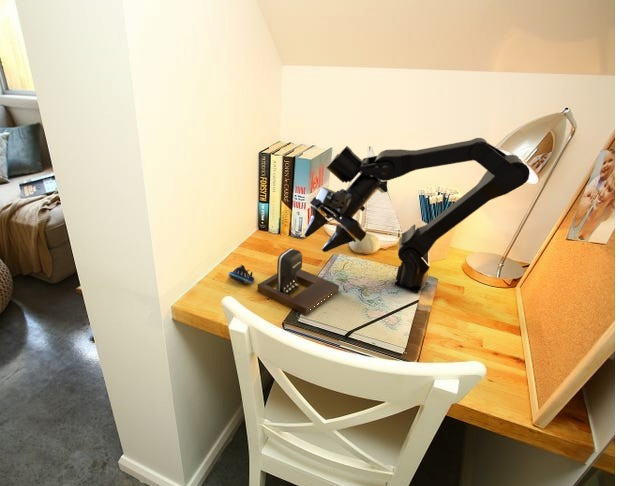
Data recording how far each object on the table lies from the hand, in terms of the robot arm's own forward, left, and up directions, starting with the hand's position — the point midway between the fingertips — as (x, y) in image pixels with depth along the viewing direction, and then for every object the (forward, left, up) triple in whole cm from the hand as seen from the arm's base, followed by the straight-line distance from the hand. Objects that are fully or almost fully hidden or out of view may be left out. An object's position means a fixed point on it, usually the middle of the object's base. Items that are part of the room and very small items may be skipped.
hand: (313, 243), depth 101 cm
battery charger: (+3, +6, -13) cm, 14 cm away
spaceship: (+16, +11, -13) cm, 23 cm away
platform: (+1, +5, -13) cm, 14 cm away
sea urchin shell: (+1, -28, -13) cm, 31 cm away
